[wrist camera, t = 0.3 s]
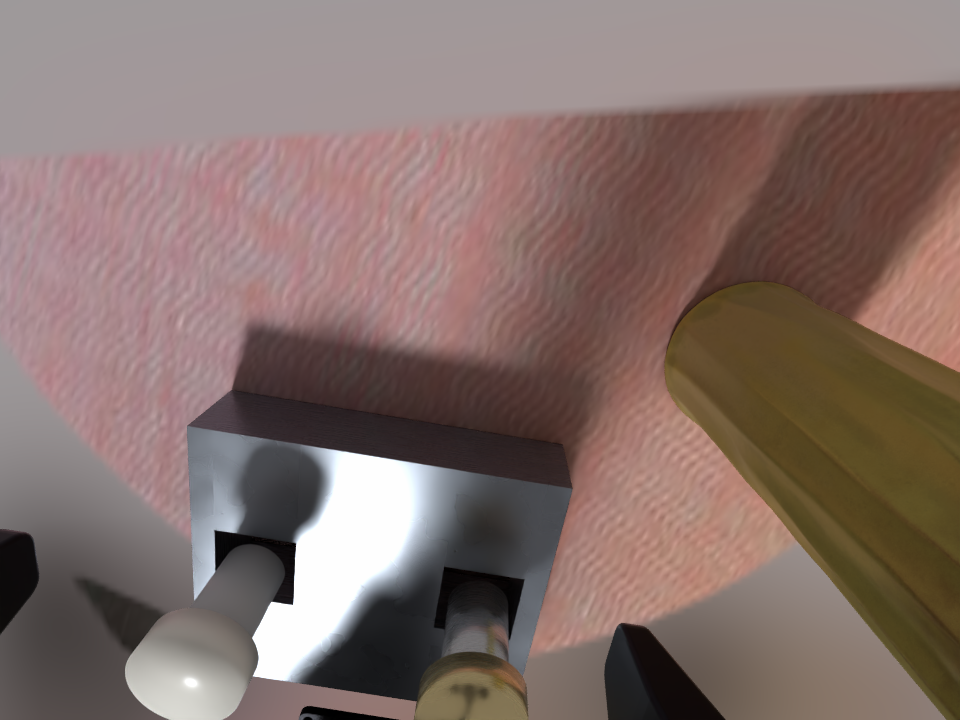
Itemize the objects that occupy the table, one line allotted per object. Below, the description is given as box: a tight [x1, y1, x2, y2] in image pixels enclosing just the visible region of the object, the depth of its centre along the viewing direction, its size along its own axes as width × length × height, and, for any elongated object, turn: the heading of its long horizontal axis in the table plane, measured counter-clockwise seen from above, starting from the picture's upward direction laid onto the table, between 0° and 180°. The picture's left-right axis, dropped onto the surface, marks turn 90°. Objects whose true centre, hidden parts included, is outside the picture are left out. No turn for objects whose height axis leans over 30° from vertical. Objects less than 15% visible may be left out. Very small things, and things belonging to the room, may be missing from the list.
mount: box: [187, 390, 573, 701], centre depth 22 cm, size 12×14×3 cm
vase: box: [665, 281, 960, 720], centre depth 13 cm, size 6×6×14 cm
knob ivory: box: [125, 544, 285, 720], centre depth 18 cm, size 4×4×5 cm
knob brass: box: [414, 581, 528, 720], centre depth 18 cm, size 4×4×5 cm
